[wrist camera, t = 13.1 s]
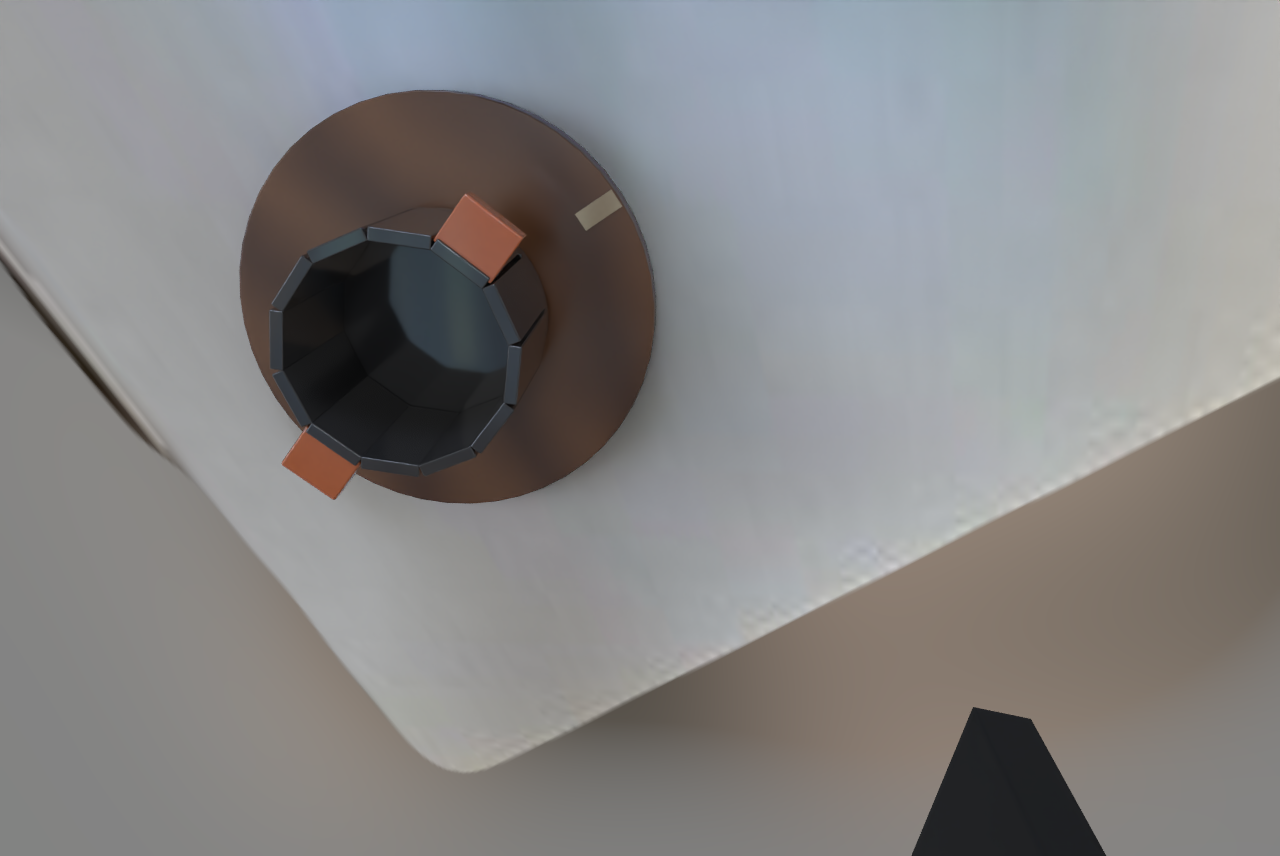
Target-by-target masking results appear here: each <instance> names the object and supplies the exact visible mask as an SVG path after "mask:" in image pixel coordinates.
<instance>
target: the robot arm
mask: <svg viewBox="0 0 1280 856" xmlns="http://www.w3.org/2000/svg"><path fill="white" fill-rule="evenodd" d="M912 856H1106V855H1105V853H1104V851H1103V849H1102V847H1101V846H1100V844H1099V842H1098V840H1097V838H1096V836H1095V835H1094V833H1093V831H1092V829H1091V827H1090V826H1089V824H1088V822H1087V820H1086V818H1085V816H1084V815H1083V813H1082V811H1081V809H1080V807H1079V806H1078V804H1077V802H1076V800H1075V798H1074V797H1073V795H1072V793H1071V791H1070V789H1069V788H1068V786H1067V784H1066V782H1065V780H1064V778H1063V777H1062V775H1061V773H1060V771H1059V769H1058V768H1057V766H1056V764H1055V762H1054V760H1053V758H1052V757H1051V755H1050V753H1049V751H1048V749H1047V747H1046V746H1045V744H1044V742H1043V740H1042V738H1041V737H1040V735H1039V733H1038V731H1037V729H1036V728H1035V726H1034V724H1033V722H1032V720H1031V719H1028V718H1023V717H1019V716H1014V715H1009V714H1004V713H999V712H994V711H990V710H984V709H980V708H975V707H973V709H972V711H971V714H970V716H969V718H968V721H967V723H966V726H965V728H964V730H963V733H962V735H961V738H960V740H959V743H958V745H957V747H956V750H955V752H954V755H953V757H952V759H951V762H950V764H949V767H948V769H947V771H946V774H945V776H944V779H943V781H942V784H941V786H940V788H939V791H938V793H937V795H936V798H935V800H934V803H933V805H932V808H931V810H930V812H929V815H928V817H927V820H926V822H925V824H924V827H923V829H922V832H921V834H920V837H919V839H918V841H917V844H916V847H915V849H914V851H913V853H912Z"/></svg>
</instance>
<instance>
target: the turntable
mask: <svg viewBox="0 0 1280 856" xmlns="http://www.w3.org/2000/svg"><path fill="white" fill-rule="evenodd" d="M468 192H472V193H473V194H475V195H476V196H477V197H479V198H480V199H481V200H483V201H484V202H485V203H486V204H488V205H489V206H490V207H492V208H493V209H494V210H495V211H497V212H498V213H499V214H501V215H502V216H503V217H504V218H506V219H507V220H508V221H510V222H511V223H512V224H513V225H515V226H516V227H517V228H519V229H520V230H521V231H523V232H524V233H525V234H526V237H525V239H524V240H523V242H522V243H521V244H520V246H519V247H520V248H521V249H522V250H523V251H524V252H525V254H526V255H527V257H528V258H529V260H530V261H531V263H532V264H533V266H534V268H535V270H536V272H537V274H538V276H539V278H540V280H541V283H542V286H543V289H544V292H545V296H546V301H547V306H548V317H549V319H548V334H547V340H546V345H545V348H544V353H543V360H542V361H541V363H540V367H539V369H538V371H537V372H536V374H535V376H534V377H533V379H532V381H531V383H530V384H529V386H528V388H527V390H526V391H525V393H524V395H523V397H522V398H521V400H520V402H519V404H518V405H517V407H516V409H515V411H514V412H513V413H512V415H511V416H510V417H509V419H508V420H507V421H506V422H505V424H504V425H503V426H502V428H501V429H500V430H499V432H498V433H497V434H496V435H495V437H494V438H493V439H492V441H491V442H490V443H489V444H488V446H487V447H486V448H485V450H484V451H483V452H482V453H481V454H480V453H478V455H477V456H476V458H473V459H471V460H468V461H465V462H462V463H460V464H457V465H454V466H452V467H449V468H446V469H444V470H441V471H438V472H435V473H433V474H430V475H427V476H424V475H423V473H421V474H420V475H419V477H414V476H407V475H400V474H394V473H387V472H380V471H373V470H367V469H361V467H360V468H359V469H358V471H357V472H356V474H358V475H360V476H362V477H363V478H365V479H367V480H369V481H371V482H373V483H375V484H378V485H380V486H383V487H385V488H388V489H390V490H393V491H395V492H398V493H402V494H405V495H409V496H413V497H416V498H420V499H425V500H432V501H439V502H445V503H482V502H493V501H499V500H504V499H509V498H513V497H518V496H522V495H524V494H527V493H530V492H533V491H536V490H538V489H541V488H544V487H546V486H548V485H550V484H552V483H554V482H556V481H558V480H560V479H561V478H563V477H565V476H567V475H568V474H570V473H571V472H573V471H574V470H575V469H577V468H578V467H580V466H581V465H583V464H584V463H586V462H587V461H588V460H589V459H590V458H591V457H592V456H593V455H594V454H595V453H597V452H598V451H599V450H600V449H601V448H602V447H603V446H604V445H605V444H606V443H607V441H608V440H609V439H610V438H611V437H612V435H613V434H614V433H615V432H616V431H617V429H618V428H619V427H620V425H621V424H622V422H623V420H624V419H625V417H626V416H627V414H628V412H629V411H630V409H631V408H632V406H633V404H634V402H635V399H636V397H637V395H638V393H639V390H640V388H641V386H642V384H643V381H644V378H645V374H646V371H647V367H648V364H649V360H650V357H651V350H652V344H653V337H654V330H655V320H656V295H655V287H654V278H653V270H652V266H651V262H650V259H649V255H648V251H647V247H646V243H645V241H644V238H643V236H642V233H641V231H640V228H639V226H638V223H637V221H636V218H635V216H634V215H633V213H632V211H631V209H630V207H629V206H628V204H627V202H626V200H625V198H624V197H623V195H622V193H621V192H620V190H619V189H618V188H617V186H616V185H615V183H614V182H613V181H612V179H611V178H610V177H609V175H608V174H607V173H606V171H605V170H604V169H603V168H602V167H601V166H600V165H599V164H598V163H597V161H596V160H595V159H594V158H593V157H592V156H591V155H590V154H589V153H588V152H587V151H586V150H585V149H584V148H583V147H582V146H580V145H579V144H578V143H577V142H575V141H574V140H573V139H572V138H570V137H569V136H568V135H567V134H565V133H564V132H563V131H562V130H560V129H559V128H557V127H555V126H554V125H552V124H550V123H549V122H547V121H545V120H544V119H542V118H541V117H539V116H537V115H535V114H533V113H531V112H529V111H526V110H524V109H522V108H520V107H517V106H515V105H513V104H511V103H508V102H504V101H501V100H497V99H494V98H491V97H487V96H484V95H479V94H472V93H465V92H458V91H448V90H413V91H406V92H398V93H391V94H385V95H382V96H379V97H375V98H372V99H368V100H365V101H361V102H358V103H356V104H354V105H352V106H350V107H348V108H346V109H343V110H341V111H339V112H337V113H335V114H333V115H331V116H330V117H328V118H327V119H325V120H324V121H322V122H321V123H319V124H318V125H316V126H315V127H313V128H312V129H310V130H309V131H308V132H307V133H306V134H305V135H304V136H303V137H302V138H300V139H299V140H298V141H297V142H296V143H295V144H294V145H293V146H292V147H291V148H290V149H289V150H288V151H287V152H286V154H285V155H284V156H283V157H282V159H281V160H280V161H279V162H278V163H277V165H276V166H275V167H274V168H273V170H272V172H271V173H270V175H269V177H268V178H267V180H266V182H265V183H264V185H263V187H262V188H261V190H260V192H259V194H258V197H257V199H256V202H255V204H254V206H253V209H252V211H251V214H250V216H249V220H248V224H247V228H246V232H245V236H244V240H243V244H242V253H241V262H240V298H241V305H242V311H243V318H244V324H245V328H246V331H247V335H248V338H249V342H250V345H251V349H252V351H253V354H254V356H255V358H256V361H257V363H258V366H259V368H260V370H261V373H262V375H263V377H264V378H265V380H266V382H267V384H268V385H269V387H270V389H271V391H272V392H273V394H274V396H275V398H276V399H277V400H278V402H279V403H280V404H281V406H282V407H283V409H284V410H285V411H286V413H287V414H288V415H289V417H290V418H291V419H292V421H293V422H294V423H295V424H296V425H297V426H298V427H299V428H300V429H301V430H302V431H303V430H304V429H305V427H306V426H304V427H301V426H300V424H299V422H298V421H297V419H296V417H295V415H294V414H293V412H292V410H291V408H290V406H289V405H288V403H287V401H286V399H285V398H284V396H283V394H282V392H281V391H280V389H279V387H278V385H277V383H276V382H275V380H274V378H273V376H272V374H273V373H275V372H276V371H278V370H274V369H270V337H269V310H271V309H273V308H275V307H274V306H273V305H272V304H271V303H272V301H273V300H274V298H275V297H276V295H277V293H278V292H279V290H280V289H281V287H282V285H283V284H284V282H285V281H286V279H287V277H288V276H289V274H290V273H291V271H292V269H293V268H294V266H295V265H296V263H297V261H298V260H299V258H300V257H301V256H302V255H304V254H307V250H309V249H312V248H314V247H316V246H319V245H321V244H323V243H326V242H328V241H330V240H332V239H335V238H337V237H339V236H342V235H344V234H346V233H349V232H351V231H353V230H356V229H358V228H360V227H363V226H365V225H368V224H371V223H373V222H376V221H379V220H381V219H384V218H387V217H389V216H392V215H395V214H397V213H400V212H402V211H405V210H408V209H410V208H413V209H415V208H418V207H423V208H435V207H436V208H449V209H454V208H455V207H456V205H457V204H458V202H459V201H460V200H461V198H462V197H463V195H464V194H465V193H468Z"/></svg>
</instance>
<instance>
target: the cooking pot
mask: <svg viewBox="0 0 1280 856" xmlns="http://www.w3.org/2000/svg"><path fill="white" fill-rule="evenodd" d="M525 237H526V234H525V233H524V232H523V231H521V230H520V229H519V228H517V227H516V226H515V225H513V224H512V223H511V222H510V221H508V220H507V219H506V218H504V217H503V216H502V215H501V214H499V213H498V212H497V211H495V210H494V209H493V208H492V207H490V206H489V205H488V204H486V203H485V202H484V201H483V200H481V199H480V198H479V197H477V196H476V195H475V194H473V193H472V192H468V193H465V194H464V195H463V197H462V198H461V200H460V201H459V202H458V204H457V205H456V207H455V208H454V209H449V208H436V207H435V208H423V207H418V208H415V209H413V208H410V209H408V210H405V211H402V212H400V213H397V214H395V215H392V216H389V217H387V218H384V219H381V220H379V221H376V222H373V223H371V224H368V225H365V226H363V227H360V228H358V229H356V230H353V231H351V232H349V233H346V234H344V235H342V236H339V237H337V238H335V239H332V240H330V241H328V242H326V243H323V244H321V245H319V246H316V247H314V248H312V249H309V250H307V254H304V255H302V256H301V257H300V258H299V260H298V261H297V263H296V265H295V266H294V268H293V269H292V271H291V273H290V274H289V276H288V277H287V279H286V281H285V282H284V284H283V285H282V287H281V289H280V290H279V292H278V293H277V295H276V297H275V298H274V300H273V301H272V303H271V304H272V305H273V306H274V307H275V308H273V309H271V310H269V337H270V369H274V370H278V371H276V372H275V373H273V374H272V376H273V378H274V380H275V382H276V383H277V385H278V387H279V389H280V391H281V392H282V394H283V396H284V398H285V399H286V401H287V403H288V405H289V406H290V408H291V410H292V412H293V414H294V415H295V417H296V419H297V421H298V422H299V424H300V426H301V427H304V426H306V427H305V429H304V430H303V432H302V433H301V435H300V436H299V438H298V439H297V441H296V442H295V444H294V445H293V447H292V448H291V450H290V451H289V452H288V454H287V455H286V457H285V458H284V460H283V461H282V465H283V466H284V467H286V468H287V469H289V470H290V471H292V472H293V473H295V474H296V475H297V476H299V477H300V478H302V479H303V480H305V481H306V482H308V483H309V484H311V485H312V486H314V487H315V488H317V489H318V490H320V491H321V492H323V493H324V494H325V495H327V496H328V497H330V498H331V499H333V500H335V499H336V498H337V497H338V496H339V495H340V494H341V493H342V491H343V490H344V489H345V487H346V486H347V485H348V483H349V482H350V480H351V479H352V478H353V476H354V475H355V473H356V472H357V471H358V469H359V468H360V467H361V469H367V470H373V471H380V472H387V473H394V474H400V475H407V476H414V477H419V475H420V474H421V473H423V475H424V476H427V475H430V474H433V473H435V472H438V471H441V470H444V469H446V468H449V467H452V466H454V465H457V464H460V463H462V462H465V461H468V460H471V459H473V458H476V456H477V455H478V453H480V454H481V453H482V452H483V451H484V450H485V448H486V447H487V446H488V444H489V443H490V442H491V441H492V439H493V438H494V437H495V435H496V434H497V433H498V432H499V430H500V429H501V428H502V426H503V425H504V424H505V422H506V421H507V420H508V419H509V417H510V416H511V415H512V413H513V412H514V411H515V409H516V407H517V405H518V404H519V402H520V400H521V398H522V397H523V395H524V393H525V391H526V390H527V388H528V386H529V384H530V383H531V381H532V379H533V377H534V376H535V374H536V372H537V371H538V369H539V367H540V363H541V361H542V360H543V353H544V348H545V345H546V340H547V334H548V319H549V317H548V306H547V301H546V296H545V292H544V289H543V286H542V283H541V280H540V278H539V276H538V274H537V272H536V270H535V268H534V266H533V264H532V263H531V261H530V260H529V258H528V257H527V255H526V254H525V252H524V251H523V250H522V249H521V248H520V247H519V246H520V244H521V243H522V242H523V240H524V239H525Z"/></svg>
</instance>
